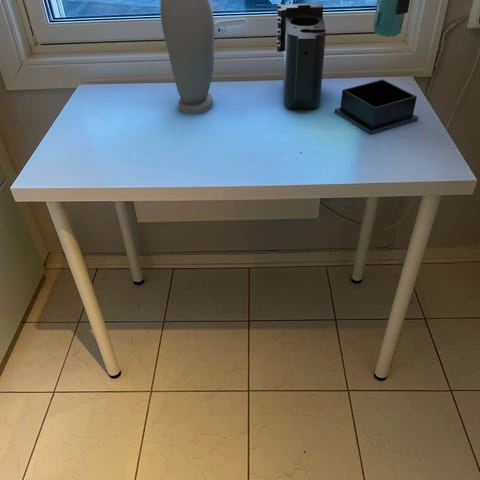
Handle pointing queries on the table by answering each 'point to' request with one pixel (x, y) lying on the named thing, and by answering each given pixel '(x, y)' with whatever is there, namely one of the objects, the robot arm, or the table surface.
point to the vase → (190, 50)
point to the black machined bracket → (301, 53)
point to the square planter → (377, 106)
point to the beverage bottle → (388, 18)
